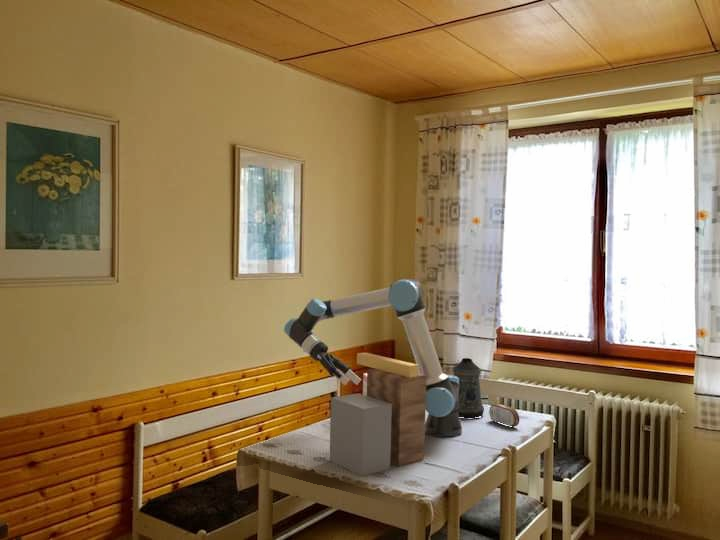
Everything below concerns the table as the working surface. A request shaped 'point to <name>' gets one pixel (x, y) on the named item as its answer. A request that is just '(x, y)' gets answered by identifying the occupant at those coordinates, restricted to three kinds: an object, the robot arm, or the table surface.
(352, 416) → the grey base
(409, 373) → the ochre bar
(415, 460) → the walnut pedestal
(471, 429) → the table surface
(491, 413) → the tin
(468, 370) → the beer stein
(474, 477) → the table surface
